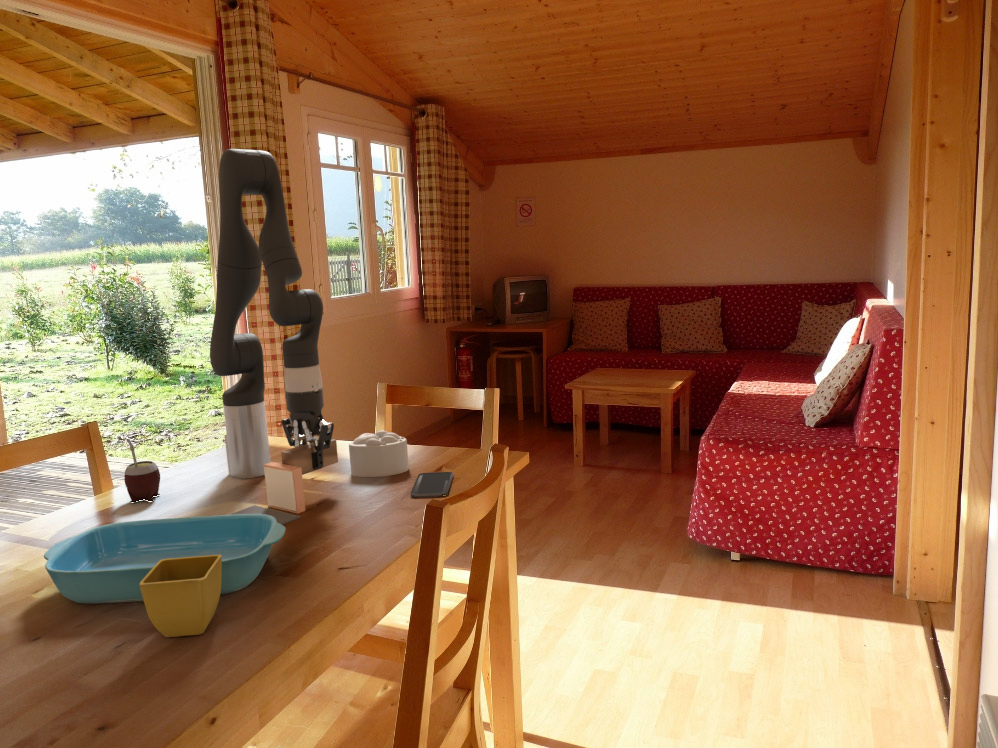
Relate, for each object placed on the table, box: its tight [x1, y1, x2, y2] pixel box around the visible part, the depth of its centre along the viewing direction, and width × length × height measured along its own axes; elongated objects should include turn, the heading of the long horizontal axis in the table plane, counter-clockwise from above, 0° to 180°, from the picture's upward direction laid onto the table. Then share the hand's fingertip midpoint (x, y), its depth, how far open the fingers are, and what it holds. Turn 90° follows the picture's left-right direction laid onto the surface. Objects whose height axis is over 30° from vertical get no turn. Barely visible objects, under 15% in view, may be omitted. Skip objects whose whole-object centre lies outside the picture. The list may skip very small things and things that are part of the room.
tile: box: [264, 461, 306, 514], centre depth 157 cm, size 9×2×9 cm, turn 55°
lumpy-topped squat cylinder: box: [348, 429, 410, 478], centre depth 181 cm, size 10×13×9 cm
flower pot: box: [139, 555, 222, 638], centre depth 108 cm, size 9×9×9 cm
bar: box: [280, 438, 339, 476], centre depth 163 cm, size 4×12×5 cm, turn 146°
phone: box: [410, 471, 454, 499], centre depth 168 cm, size 8×1×15 cm
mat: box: [228, 504, 301, 526], centre depth 153 cm, size 14×8×1 cm, turn 55°
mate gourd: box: [124, 438, 161, 502], centre depth 167 cm, size 8×8×15 cm
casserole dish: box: [43, 514, 287, 604], centre depth 126 cm, size 37×22×7 cm, turn 95°
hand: (311, 467), depth 163 cm, fingers closed on bar, 3 cm apart
